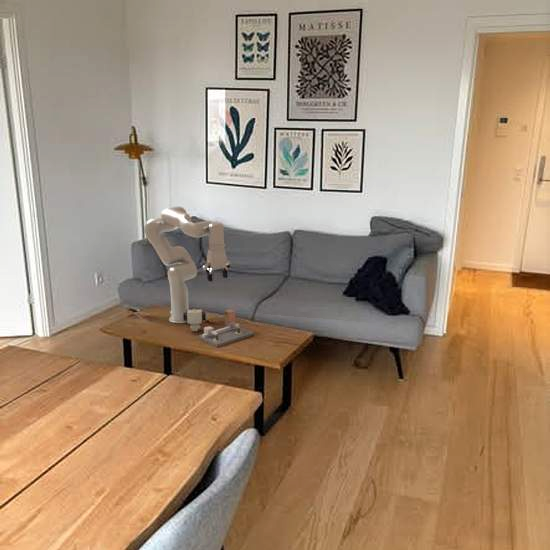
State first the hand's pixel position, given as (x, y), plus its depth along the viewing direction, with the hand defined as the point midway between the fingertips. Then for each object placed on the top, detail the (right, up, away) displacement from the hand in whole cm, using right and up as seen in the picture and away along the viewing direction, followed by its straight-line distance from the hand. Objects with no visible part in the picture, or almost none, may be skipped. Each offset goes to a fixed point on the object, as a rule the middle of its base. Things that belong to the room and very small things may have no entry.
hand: (217, 279), depth 283 cm
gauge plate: (+5, -30, -2) cm, 30 cm away
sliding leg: (+8, -26, +3) cm, 28 cm away
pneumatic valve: (-13, -27, +8) cm, 31 cm away
